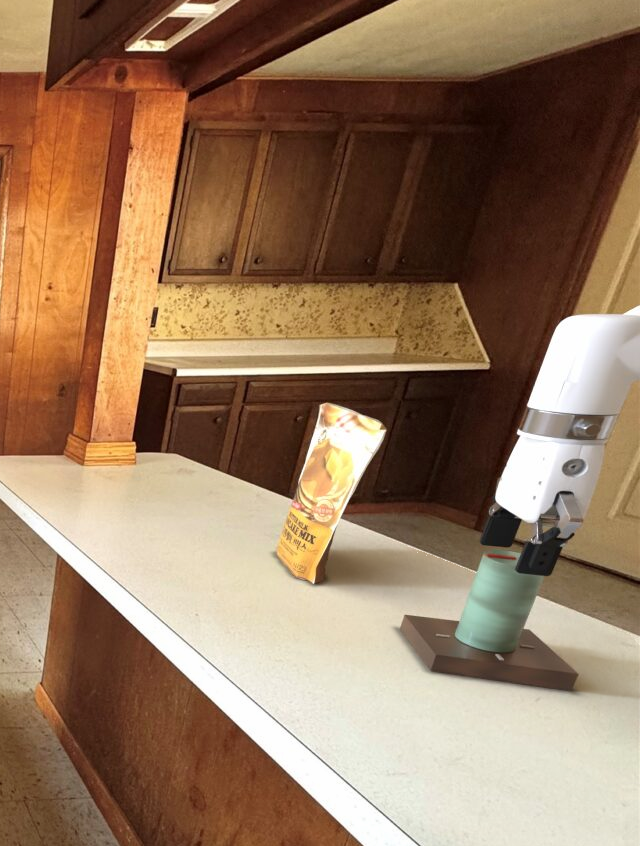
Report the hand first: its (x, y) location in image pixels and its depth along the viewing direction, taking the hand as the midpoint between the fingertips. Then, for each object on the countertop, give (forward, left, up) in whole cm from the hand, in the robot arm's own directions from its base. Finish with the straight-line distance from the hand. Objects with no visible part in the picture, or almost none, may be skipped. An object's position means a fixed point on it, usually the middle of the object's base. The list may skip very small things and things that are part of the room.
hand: (512, 559), depth 84 cm
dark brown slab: (0, 0, -15) cm, 15 cm away
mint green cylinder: (0, 0, -12) cm, 12 cm away
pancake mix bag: (+15, -28, -15) cm, 35 cm away
